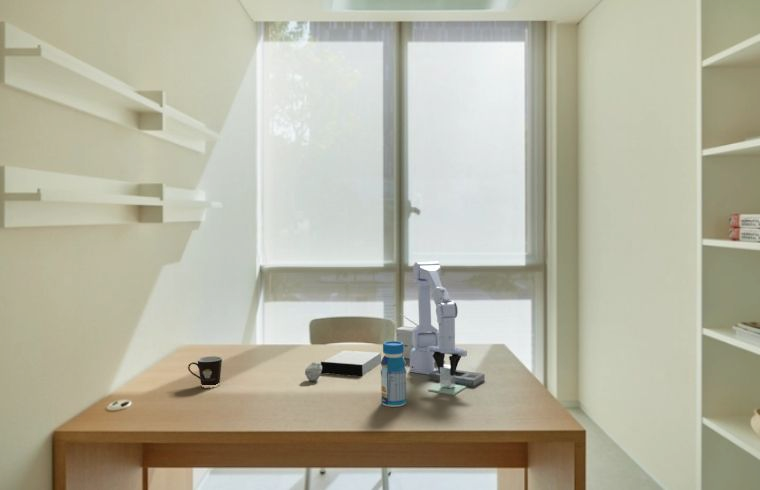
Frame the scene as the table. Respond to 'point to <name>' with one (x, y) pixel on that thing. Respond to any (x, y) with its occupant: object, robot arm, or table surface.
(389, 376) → the beverage bottle
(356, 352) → the disc drive
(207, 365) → the coffee mug
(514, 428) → the table surface
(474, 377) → the plate with square hole
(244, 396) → the table surface
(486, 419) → the table surface
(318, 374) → the frog figurine
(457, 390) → the rubber pad
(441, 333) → the robot arm
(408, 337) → the stereo radio cassette player
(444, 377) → the steel peg
